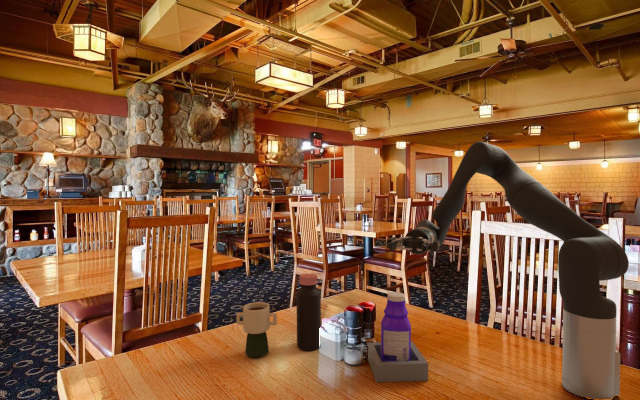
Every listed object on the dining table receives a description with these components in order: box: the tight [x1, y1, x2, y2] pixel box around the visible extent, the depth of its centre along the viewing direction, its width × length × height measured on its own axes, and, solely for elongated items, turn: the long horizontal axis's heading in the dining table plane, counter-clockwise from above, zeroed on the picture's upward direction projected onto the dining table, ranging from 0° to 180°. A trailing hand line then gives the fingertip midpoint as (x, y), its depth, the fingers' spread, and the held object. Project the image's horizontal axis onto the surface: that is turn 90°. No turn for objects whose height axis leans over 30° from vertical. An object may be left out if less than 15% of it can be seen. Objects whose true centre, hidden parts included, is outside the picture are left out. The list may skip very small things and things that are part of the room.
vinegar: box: [295, 273, 322, 352], centre depth 102 cm, size 7×7×20 cm
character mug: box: [236, 301, 278, 358], centre depth 98 cm, size 11×7×13 cm, turn 86°
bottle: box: [380, 291, 412, 362], centre depth 89 cm, size 7×6×17 cm
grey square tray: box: [366, 340, 429, 383], centre depth 89 cm, size 12×12×4 cm
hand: (406, 247), depth 98 cm, fingers open, 8 cm apart
